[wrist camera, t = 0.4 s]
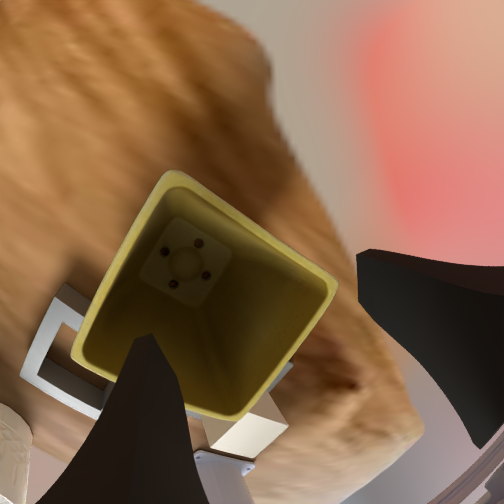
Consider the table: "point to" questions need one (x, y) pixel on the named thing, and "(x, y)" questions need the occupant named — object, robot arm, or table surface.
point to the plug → (246, 429)
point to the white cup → (13, 456)
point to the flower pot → (204, 299)
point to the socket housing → (51, 374)
